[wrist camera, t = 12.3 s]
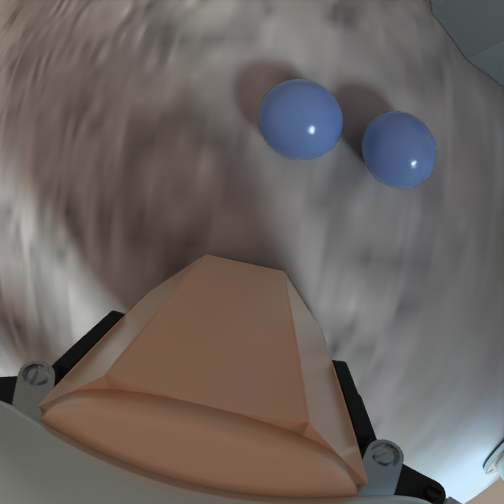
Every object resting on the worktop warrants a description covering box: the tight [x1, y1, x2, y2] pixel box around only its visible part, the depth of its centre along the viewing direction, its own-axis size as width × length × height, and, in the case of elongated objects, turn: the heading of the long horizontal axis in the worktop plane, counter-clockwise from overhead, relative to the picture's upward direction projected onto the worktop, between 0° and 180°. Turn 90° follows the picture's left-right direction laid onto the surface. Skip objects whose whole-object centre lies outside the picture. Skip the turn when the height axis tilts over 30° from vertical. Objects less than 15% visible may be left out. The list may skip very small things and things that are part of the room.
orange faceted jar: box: [38, 254, 368, 498], centre depth 8 cm, size 8×8×8 cm
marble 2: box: [362, 111, 436, 189], centre depth 9 cm, size 3×3×3 cm
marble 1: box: [258, 79, 343, 160], centre depth 9 cm, size 3×3×3 cm
